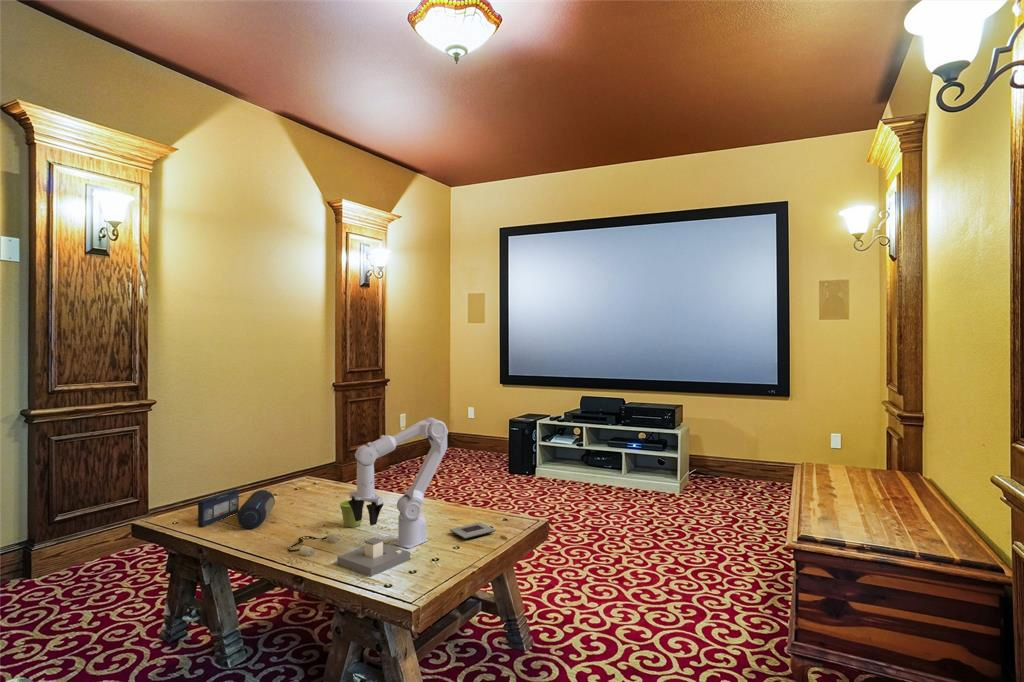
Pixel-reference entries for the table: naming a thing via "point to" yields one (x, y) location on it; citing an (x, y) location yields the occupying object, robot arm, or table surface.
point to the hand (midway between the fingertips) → (365, 522)
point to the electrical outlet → (472, 530)
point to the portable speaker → (255, 509)
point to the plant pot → (348, 514)
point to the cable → (309, 550)
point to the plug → (373, 547)
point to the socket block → (373, 560)
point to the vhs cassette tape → (218, 507)
